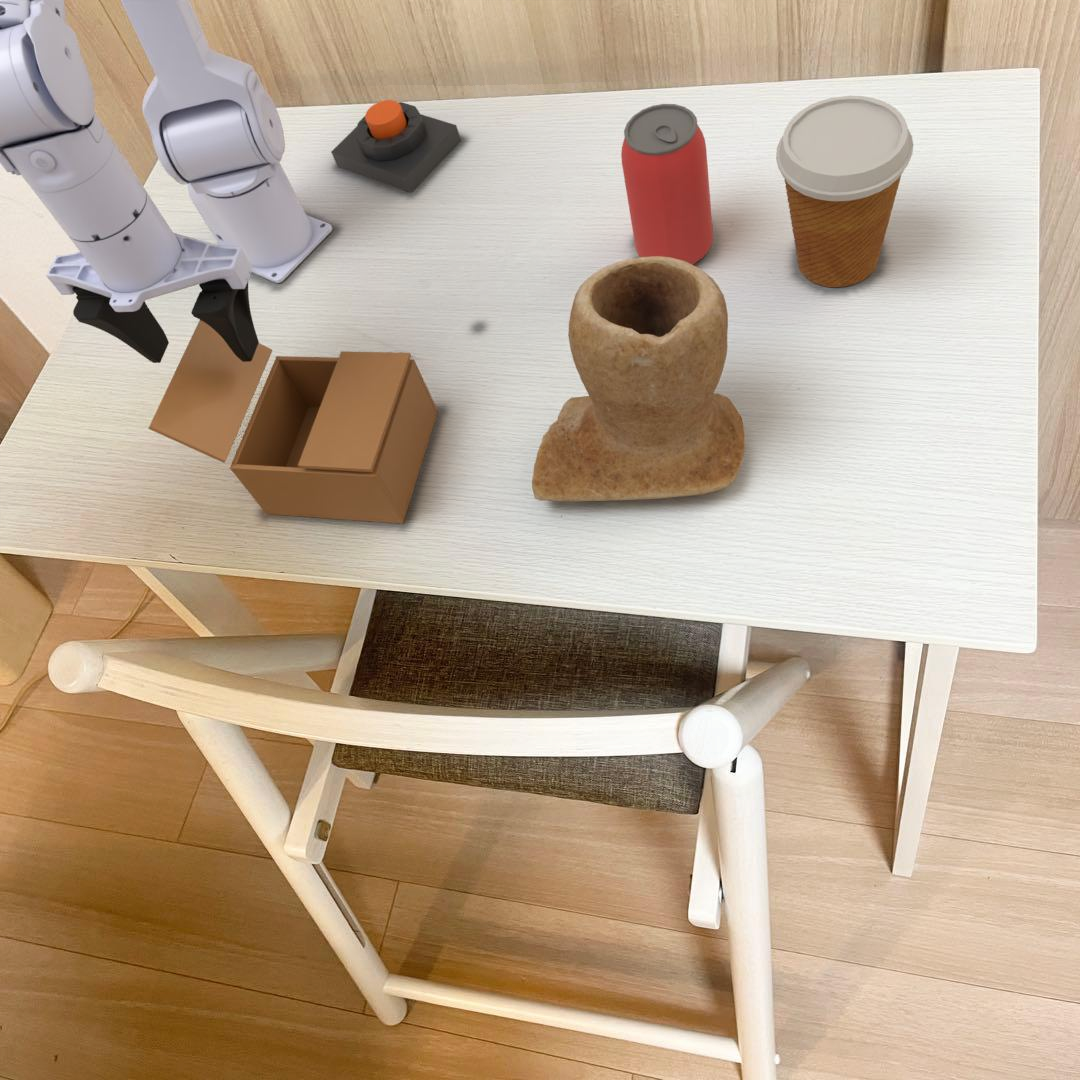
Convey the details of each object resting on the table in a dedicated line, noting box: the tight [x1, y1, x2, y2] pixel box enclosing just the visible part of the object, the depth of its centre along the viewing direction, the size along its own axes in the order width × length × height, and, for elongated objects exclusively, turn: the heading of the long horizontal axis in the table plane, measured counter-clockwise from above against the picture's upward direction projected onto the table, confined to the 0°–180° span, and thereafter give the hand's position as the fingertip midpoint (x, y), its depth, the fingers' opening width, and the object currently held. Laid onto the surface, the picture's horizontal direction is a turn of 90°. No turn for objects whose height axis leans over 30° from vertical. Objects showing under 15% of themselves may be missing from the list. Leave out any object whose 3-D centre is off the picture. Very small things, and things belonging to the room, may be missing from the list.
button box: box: [330, 101, 462, 194], centre depth 101 cm, size 10×8×4 cm
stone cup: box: [531, 256, 746, 502], centre depth 71 cm, size 15×12×15 cm
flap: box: [147, 319, 273, 464], centre depth 77 cm, size 6×11×1 cm
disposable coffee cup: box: [775, 95, 914, 288], centre depth 78 cm, size 10×10×12 cm
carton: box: [229, 350, 439, 525], centre depth 80 cm, size 12×11×7 cm
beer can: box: [620, 103, 714, 265], centre depth 83 cm, size 7×7×12 cm
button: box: [364, 99, 407, 139], centre depth 99 cm, size 4×4×2 cm
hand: (205, 352), depth 77 cm, fingers open, 7 cm apart
